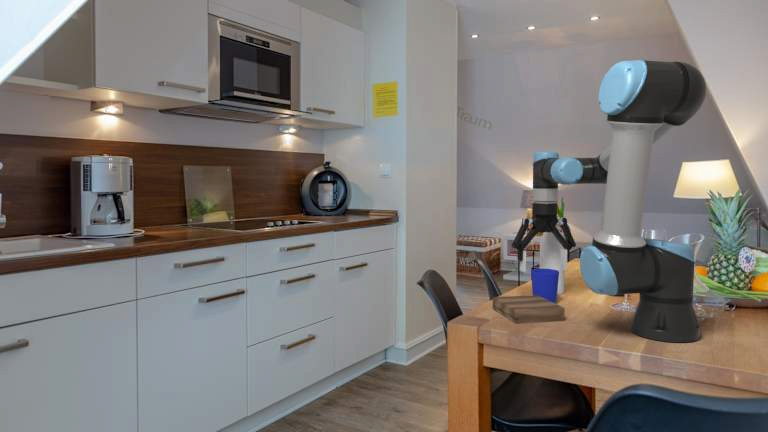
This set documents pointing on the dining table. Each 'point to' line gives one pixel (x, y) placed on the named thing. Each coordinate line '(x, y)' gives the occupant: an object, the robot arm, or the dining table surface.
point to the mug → (545, 283)
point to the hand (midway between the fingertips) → (543, 270)
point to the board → (528, 309)
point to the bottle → (552, 257)
